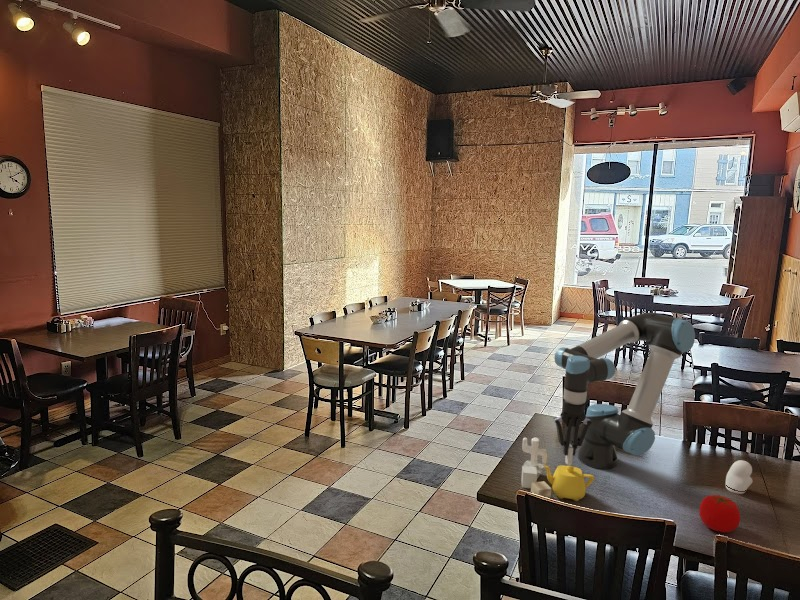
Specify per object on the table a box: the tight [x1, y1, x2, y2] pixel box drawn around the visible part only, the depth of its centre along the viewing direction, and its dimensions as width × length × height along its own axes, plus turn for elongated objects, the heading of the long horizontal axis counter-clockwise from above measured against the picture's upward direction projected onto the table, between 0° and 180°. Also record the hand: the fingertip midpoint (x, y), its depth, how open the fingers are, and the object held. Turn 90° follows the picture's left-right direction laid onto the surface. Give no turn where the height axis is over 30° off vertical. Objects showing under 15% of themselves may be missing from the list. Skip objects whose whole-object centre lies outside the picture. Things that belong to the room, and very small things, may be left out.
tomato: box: [699, 494, 741, 533], centre depth 171 cm, size 11×12×10 cm
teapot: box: [543, 464, 595, 502], centre depth 189 cm, size 18×11×11 cm, turn 75°
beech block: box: [530, 480, 552, 498], centre depth 186 cm, size 5×5×5 cm
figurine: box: [521, 436, 548, 480], centre depth 201 cm, size 7×9×15 cm
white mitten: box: [725, 459, 753, 495], centre depth 194 cm, size 7×8×12 cm
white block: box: [520, 465, 538, 489], centre depth 195 cm, size 5×5×6 cm
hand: (568, 463), depth 187 cm, fingers closed
